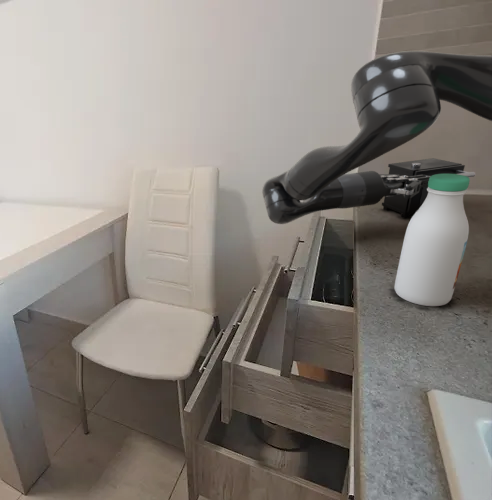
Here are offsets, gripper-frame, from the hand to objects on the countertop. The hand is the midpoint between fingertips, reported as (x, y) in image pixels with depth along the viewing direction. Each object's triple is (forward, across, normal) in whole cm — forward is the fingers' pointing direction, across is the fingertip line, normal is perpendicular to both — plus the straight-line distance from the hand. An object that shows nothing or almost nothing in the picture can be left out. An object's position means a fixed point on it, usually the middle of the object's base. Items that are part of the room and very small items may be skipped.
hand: (426, 180), depth 82 cm
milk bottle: (-21, -27, +11) cm, 36 cm away
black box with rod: (+6, +8, +11) cm, 15 cm away
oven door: (+3, +2, +9) cm, 9 cm away
